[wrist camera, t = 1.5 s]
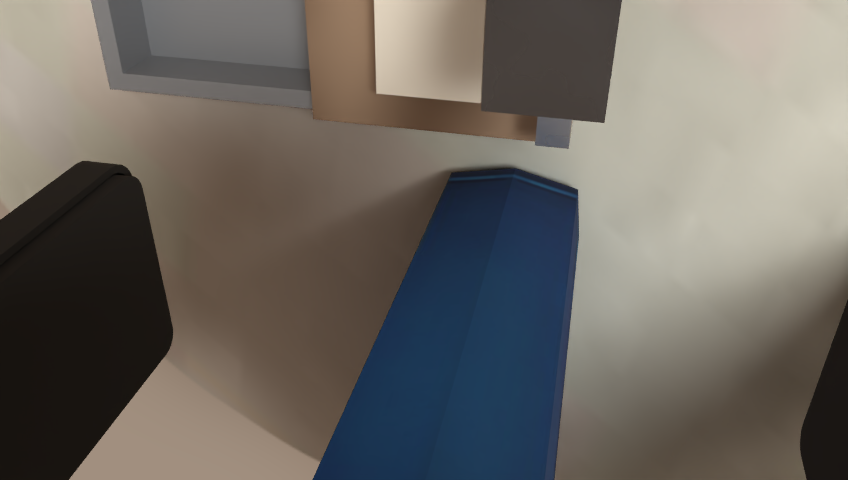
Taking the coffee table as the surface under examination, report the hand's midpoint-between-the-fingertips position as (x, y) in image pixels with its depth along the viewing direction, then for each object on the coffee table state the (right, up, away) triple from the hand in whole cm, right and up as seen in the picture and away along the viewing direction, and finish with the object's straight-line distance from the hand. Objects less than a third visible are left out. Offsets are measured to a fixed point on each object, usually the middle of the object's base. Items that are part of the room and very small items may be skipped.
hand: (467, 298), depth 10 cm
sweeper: (+5, +10, +16) cm, 20 cm away
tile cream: (0, +9, +19) cm, 21 cm away
